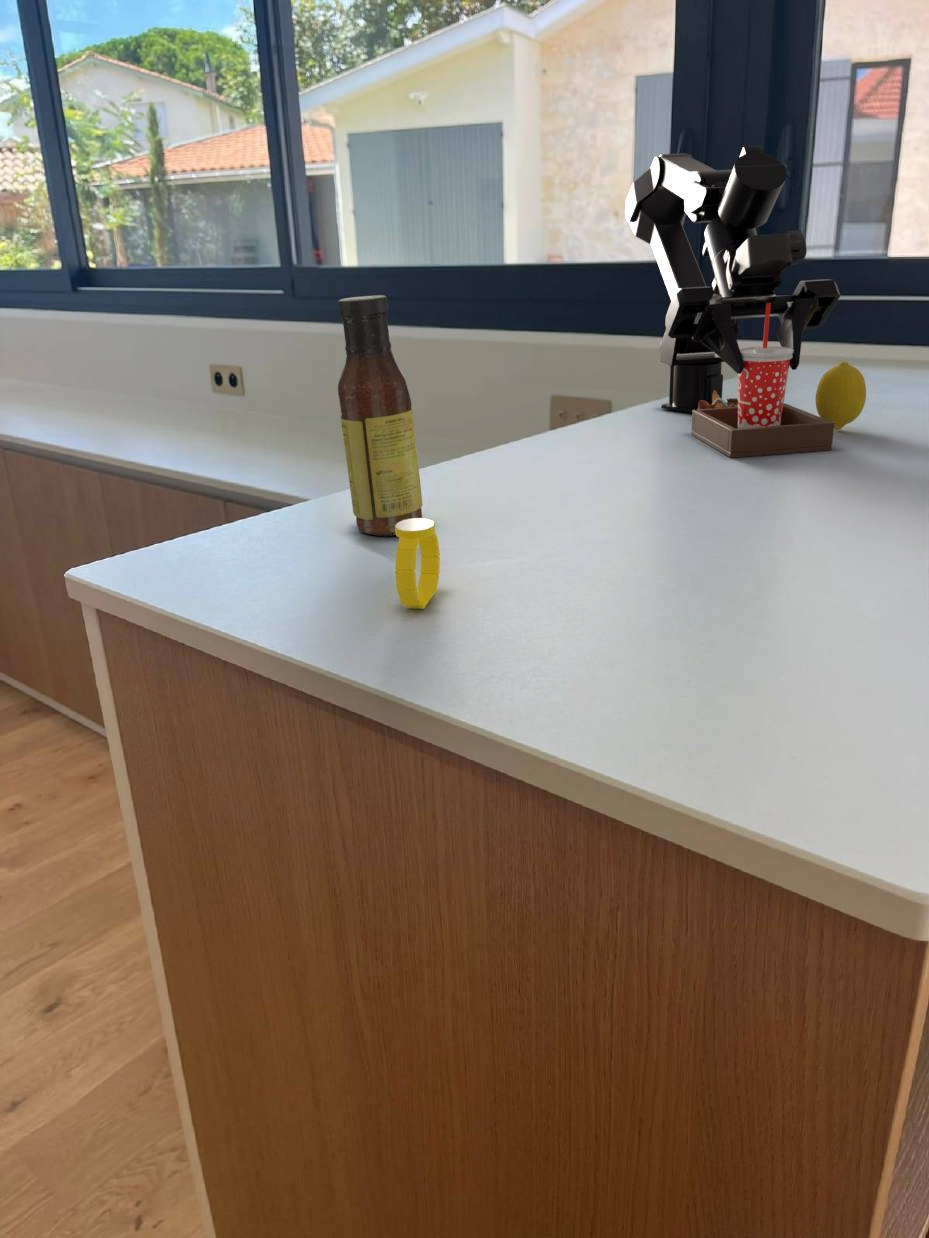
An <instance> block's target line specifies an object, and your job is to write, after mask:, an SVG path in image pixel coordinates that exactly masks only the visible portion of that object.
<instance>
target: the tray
mask: <svg viewBox="0 0 929 1238" xmlns="http://www.w3.org/2000/svg"><path fill="white" fill-rule="evenodd" d="M834 432H835V430H834V423H833V422H831V421H828V420H826V419H823V418H821V417H820V416H819V415H815V414H813V413H810V412H808V411H805V410H803V409H800V408H799V407H796V406H792V405H790V404H788V403H786V402H784V403H783V410H782V417H781V423H780V426H767V427H753V428H740V429H738V407H726V408H712V409H699V410H692V413H691V436H693V437H694V438H696V439H698V440H700V441H701V442H703V443H705V444H707V445H708V446H710V447H711V448H712V449H715V450H717V451H718V452H720V453H721V454H723V455H725V456H726V457H728V458H730V459H734V458H747V457H756V456H757V457H758V456H771V455H772V456H773V455H786V454H796V453H797V454H798V453H811V452H824V451H832V450H833V442H834V441H833V440H834Z"/></svg>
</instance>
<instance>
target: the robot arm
mask: <svg viewBox="0 0 929 1238" xmlns="http://www.w3.org/2000/svg"><path fill="white" fill-rule="evenodd" d="M787 172H788V171H787V168H786V166H785V165H784V164H782V163H781V161H779V160H778V159H777V158H776V157H774V156H772V155H770V154H768V153H765V152H763V150H762V147H761V146H760V145H759V146H757V145H756V146H743V147H742V149H741V152H740V155H739V158H737V159H736V161H735V163H734V165H733V168H732V169H714V167H713V168H712V167H710V166H708V165H707V164H705V163H703V162H701V161H699V160H697V159H694V157H693V155H692V154H688V153H687V152H685V153H664V154H663V153H662V154H659V155H658V156H655V157H654V158H653V160H652V163H651V165H650V167H649V168H648V169H647V170H645V171H644V172H643V173H642V174H640V176H638V177H637V178H636V179H635V180H634V181H633V182H632V184H631V186H630V189H629V192H628V193H627V197H626V199H625V206H624V215H625V216H624V217H625V220H626V222H627V223H629V226H630V229H631V231H632V233H633V234H634V236H635V237H636V238H638V239H639V240H641V241H643V242H645V243H646V244H649V246H651V249H652V252H653V255H654V258H655V260H656V263H657V265H658V268H659V271H660V275H661V277H662V279H663V282H664V285H665V288H666V290H667V293H668V296H669V298H670V301H671V302H670V303H669V306H668V309H667V311H666V315H665V324H664V325H665V332H664V334H663V336H662V340H661V342H660V345H659V357H660V362H661V363H662V364H665V365H667V366H669V369H670V370H669V395H668V403H663V404H660V408H661V409H662V410H663V409H664V410H669V411H676V412H677V411H678V412H684V413H690V414H692V410H698V403H699V401H700V400H704V401H706V402H708V403H709V404H712V394H713V392H714V390H715V391H716V392H717V394H718V395H719V397H720V398H721V399H722V400H723V386H724V374H722V366H723V363H726V365H728V367H730V368H731V369H732V370H733V371H734V372H735V373H736V374H737V375H738V374H740V373H742V371H743V369H744V366H743V360H742V355H741V352H740V346H739V342H738V336H739V332H740V326H739V321H738V320H739V319H751V318H753V319H755V318H765V312H766V303H771V305H770V317H778V319H779V322H780V326H779V328H778V330H777V331H776V333H775V334H776V337H777V340H778V343H779V344H780V347H786V348H791V349H793V350H794V352H793V354H792V356H793V358H791V359H790V364H789V368H790V369H791V370H792V371H796V370H797V368H799V365H800V359H801V352H802V351H801V349H802V341H803V332H804V331H805V330H806V331H807V330H817V329H819V328H820V327H822V326H823V325H824V323H825V322H826V320H828V317H829V316H830V314H831V312H832V311H833V309H834V308H835V306H836V305H837V303H838V301H839V299H840V298H841V293H840V290H839V287H838V285H837V282H836V281H835V280H834V279H830V278H825V279H808V280H807V279H806V280H800V281H799V282H798V284H797V286H796V288H795V290H794V292H793V293H792V294H791V295H777V294H776V293H775V288H780V286H781V284H782V283H783V281H784V279H783V276H782V273H783V272H784V271H785V270H786V269H787V268H788V267H791V266H792V265H793V266H795V265H798V264H799V263H800V262H801V261H802V260H804V259H805V258H806V256H807V251H808V250H807V241H806V238H805V236H804V233H803V232H802V230H787V231H786V232H785V233H784V232H783V233H770V234H769V233H768V234H767V233H765V234H758V232H757V230H756V229H757V228H759V227H762V226H763V225H766V224H767V221H768V219H769V217H770V215H771V212H772V210H773V209H774V206H775V204H776V201H777V200H778V197H779V195H780V194H781V193H780V192H781V190H782V189H783V186H784V184H785V182H786V180H787V176H788V175H787ZM687 216H688V218H689V219H690V220H691V221H692V223H693V224H700V223H702V224H703V223H707V226H706V227H705V230H704V233H703V238H704V244H703V246H702V256H703V257H709V259H710V263H711V267H712V271H713V275H714V277H713V280H712V283H711V285H710V286H707V284H706V280H705V279H704V277H703V273H702V271H701V269H700V265H699V264H698V261H697V259H696V256H695V253H694V252H693V251H694V250H693V249H692V246H691V243H690V241H689V238H688V236H687V234H686V233H687V232H686V230H685V229H684V223H685V221H686V217H687Z"/></svg>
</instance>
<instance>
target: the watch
mask: <svg viewBox="0 0 929 1238" xmlns="http://www.w3.org/2000/svg"><path fill="white" fill-rule="evenodd" d="M395 534H396V535H395V536H396V537H397V538H399V540H398V544H397V546H396V547H397V548H396V553H395V565H394V569H395V571H394V575H395V586H396V592H397V595H398V598H399V600H400V603H401V605H403V606H404V607H405V608H406V609H412V610H413V609H415V610H425V608H426V607H427V605H428V604H429V602H430V601H431V599H432V598H433V596H434V594H436V593H437V589H438V583H439V579H440V567H441V566H440V564H441V562H440V561H441V560H440V559H441V558H440V555H441V553H440V546H439V540H438V539H439V537H438V536H437V533H436V524H435V522H434V521H433V520H432V519H429V518H424V517H422V518H412V519H406V520H403V521H400V522H398V523H397V524H396V525H395ZM418 549H419V550H420V574H419V578H418V579H419V580H418V585H417V577H416V568H417V567H416V565H417V555H418V554H417V553H418Z"/></svg>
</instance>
